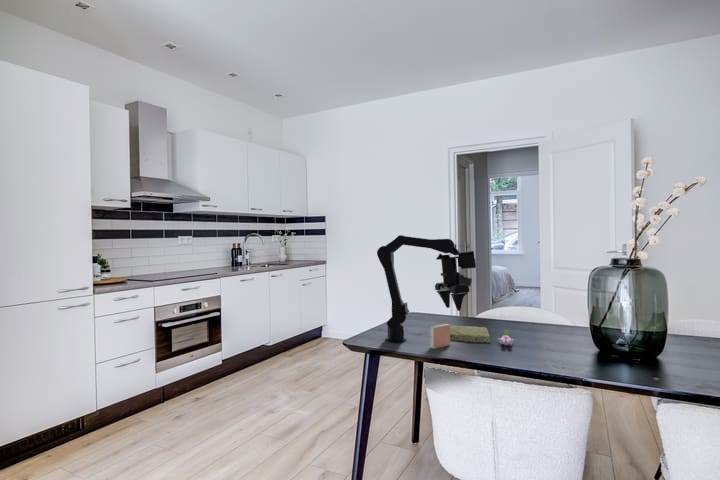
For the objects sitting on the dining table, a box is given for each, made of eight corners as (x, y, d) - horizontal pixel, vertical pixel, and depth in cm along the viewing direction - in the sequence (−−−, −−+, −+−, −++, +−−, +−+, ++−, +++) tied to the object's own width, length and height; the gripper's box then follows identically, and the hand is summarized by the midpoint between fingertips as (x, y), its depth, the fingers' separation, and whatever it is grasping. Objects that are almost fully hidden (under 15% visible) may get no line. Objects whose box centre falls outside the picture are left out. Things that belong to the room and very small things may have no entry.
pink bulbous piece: (497, 343, 170) (497, 346, 156) (498, 328, 171) (497, 330, 157) (514, 344, 168) (514, 347, 154) (514, 329, 169) (514, 331, 155)
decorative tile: (440, 331, 187) (440, 323, 187) (486, 333, 183) (486, 325, 183) (440, 341, 169) (440, 333, 169) (491, 344, 165) (491, 335, 165)
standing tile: (430, 347, 159) (430, 327, 159) (446, 343, 164) (446, 323, 164) (434, 348, 157) (434, 327, 157) (450, 344, 163) (449, 324, 163)
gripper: (479, 268, 157) (484, 309, 157) (456, 267, 175) (460, 303, 175) (453, 271, 154) (457, 313, 154) (432, 270, 172) (436, 307, 172)
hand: (453, 309), depth 164 cm, fingers open, 9 cm apart
